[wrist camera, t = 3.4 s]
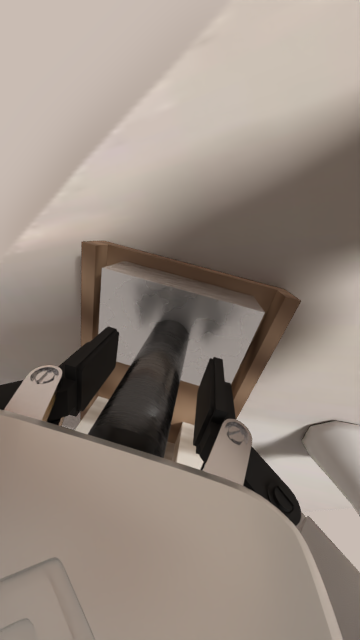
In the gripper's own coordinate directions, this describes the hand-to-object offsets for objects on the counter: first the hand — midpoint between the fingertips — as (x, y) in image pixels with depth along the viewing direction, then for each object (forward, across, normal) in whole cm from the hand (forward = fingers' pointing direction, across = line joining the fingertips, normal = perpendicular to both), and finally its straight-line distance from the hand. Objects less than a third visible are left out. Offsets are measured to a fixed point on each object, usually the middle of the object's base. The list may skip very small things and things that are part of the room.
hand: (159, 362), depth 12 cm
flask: (+9, -23, +12) cm, 27 cm away
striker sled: (+8, 0, 0) cm, 8 cm away
